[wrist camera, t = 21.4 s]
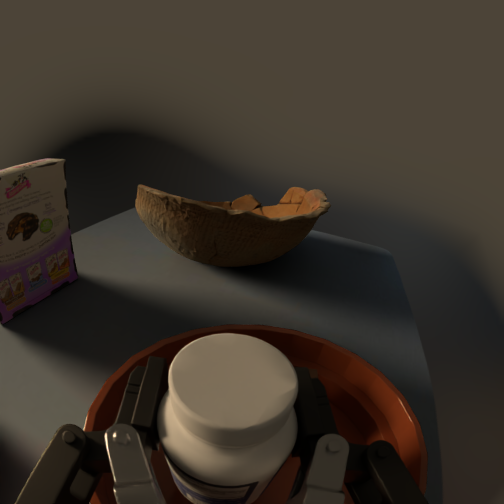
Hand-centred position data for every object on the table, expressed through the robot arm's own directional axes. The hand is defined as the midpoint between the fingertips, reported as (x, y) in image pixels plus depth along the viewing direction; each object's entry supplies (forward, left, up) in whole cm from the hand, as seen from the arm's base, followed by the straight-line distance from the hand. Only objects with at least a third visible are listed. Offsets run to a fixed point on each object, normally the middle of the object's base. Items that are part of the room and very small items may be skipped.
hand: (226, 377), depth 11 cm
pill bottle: (-1, +2, -7) cm, 7 cm away
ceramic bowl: (+14, -31, -11) cm, 35 cm away
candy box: (+30, -4, -11) cm, 32 cm away
